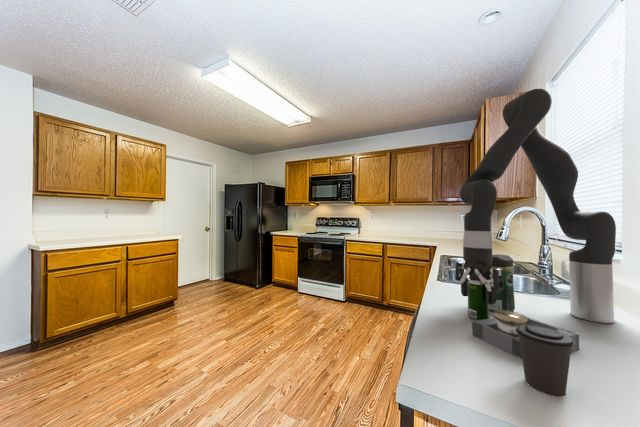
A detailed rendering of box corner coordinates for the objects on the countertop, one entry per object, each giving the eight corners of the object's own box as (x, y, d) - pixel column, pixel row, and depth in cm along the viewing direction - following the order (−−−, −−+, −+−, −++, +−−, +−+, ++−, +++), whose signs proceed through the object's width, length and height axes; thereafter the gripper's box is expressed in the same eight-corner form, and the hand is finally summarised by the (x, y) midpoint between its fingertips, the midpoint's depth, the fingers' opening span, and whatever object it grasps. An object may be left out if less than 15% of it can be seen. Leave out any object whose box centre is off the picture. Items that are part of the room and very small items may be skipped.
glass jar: (506, 336, 64) (506, 309, 64) (534, 348, 58) (534, 318, 58) (488, 339, 62) (487, 311, 62) (515, 352, 56) (514, 321, 56)
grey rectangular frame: (519, 327, 70) (519, 314, 70) (579, 349, 58) (578, 334, 58) (472, 334, 65) (472, 321, 65) (527, 361, 53) (526, 344, 53)
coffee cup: (505, 371, 49) (504, 319, 49) (548, 373, 48) (546, 320, 49) (540, 401, 41) (539, 338, 41) (592, 403, 40) (590, 340, 41)
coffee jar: (492, 303, 91) (491, 252, 91) (518, 310, 84) (517, 255, 85) (478, 308, 86) (477, 253, 86) (505, 315, 79) (504, 256, 80)
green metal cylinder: (483, 324, 72) (483, 282, 72) (464, 318, 76) (464, 278, 77) (492, 320, 75) (491, 280, 75) (473, 315, 79) (472, 276, 80)
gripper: (510, 248, 71) (510, 306, 70) (466, 244, 84) (466, 292, 84) (490, 248, 68) (491, 308, 68) (448, 244, 82) (448, 294, 81)
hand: (477, 299), depth 76 cm, fingers open, 8 cm apart
